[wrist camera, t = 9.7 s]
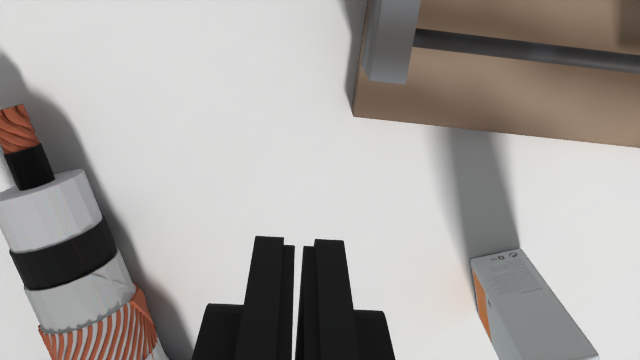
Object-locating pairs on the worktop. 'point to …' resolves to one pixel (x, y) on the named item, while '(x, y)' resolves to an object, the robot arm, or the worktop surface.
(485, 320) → the skincare box
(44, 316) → the cable
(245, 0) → the worktop surface
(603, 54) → the cord rack
